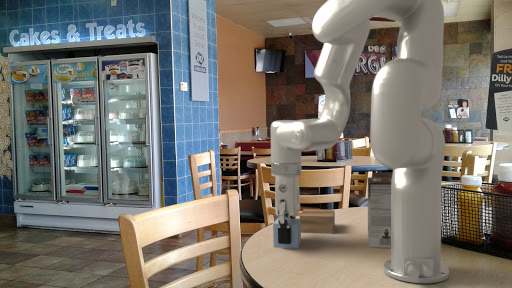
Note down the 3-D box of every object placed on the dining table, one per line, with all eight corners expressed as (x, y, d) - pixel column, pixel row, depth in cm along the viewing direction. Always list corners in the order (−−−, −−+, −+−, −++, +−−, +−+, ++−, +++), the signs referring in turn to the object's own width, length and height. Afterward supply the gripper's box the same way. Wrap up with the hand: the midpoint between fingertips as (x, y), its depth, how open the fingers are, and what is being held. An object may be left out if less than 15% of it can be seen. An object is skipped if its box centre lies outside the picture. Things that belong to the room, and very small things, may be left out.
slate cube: (297, 248, 110) (297, 224, 110) (273, 247, 112) (273, 223, 112) (301, 241, 116) (300, 218, 116) (278, 240, 118) (277, 218, 117)
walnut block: (332, 234, 123) (332, 216, 123) (299, 233, 125) (299, 215, 125) (334, 226, 132) (334, 209, 131) (304, 225, 134) (303, 209, 133)
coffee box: (367, 237, 119) (367, 176, 118) (392, 238, 117) (392, 176, 116) (368, 247, 110) (368, 182, 109) (396, 248, 108) (396, 182, 107)
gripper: (296, 174, 104) (297, 250, 105) (305, 165, 120) (306, 230, 122) (264, 174, 105) (265, 248, 106) (278, 165, 122) (279, 229, 123)
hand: (287, 238), depth 114 cm, fingers open, 7 cm apart
